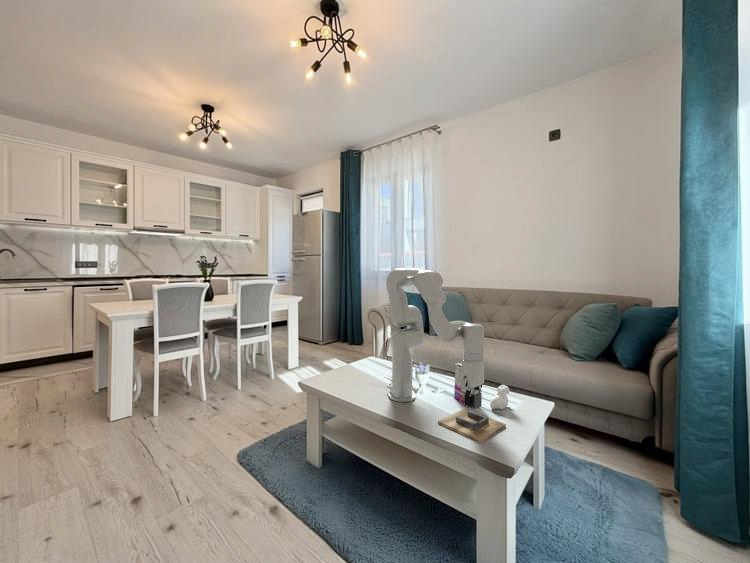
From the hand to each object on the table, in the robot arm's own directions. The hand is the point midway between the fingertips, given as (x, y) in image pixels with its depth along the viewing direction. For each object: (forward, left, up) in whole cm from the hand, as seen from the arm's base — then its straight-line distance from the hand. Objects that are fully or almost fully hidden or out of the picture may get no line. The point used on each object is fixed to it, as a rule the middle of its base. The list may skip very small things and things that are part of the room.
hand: (472, 403), depth 119 cm
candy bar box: (-14, +18, -9) cm, 25 cm away
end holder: (0, 0, -8) cm, 8 cm away
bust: (-1, +24, -9) cm, 26 cm away
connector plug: (0, 0, -1) cm, 1 cm away
